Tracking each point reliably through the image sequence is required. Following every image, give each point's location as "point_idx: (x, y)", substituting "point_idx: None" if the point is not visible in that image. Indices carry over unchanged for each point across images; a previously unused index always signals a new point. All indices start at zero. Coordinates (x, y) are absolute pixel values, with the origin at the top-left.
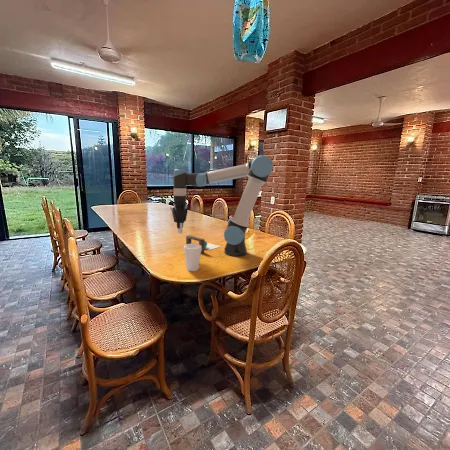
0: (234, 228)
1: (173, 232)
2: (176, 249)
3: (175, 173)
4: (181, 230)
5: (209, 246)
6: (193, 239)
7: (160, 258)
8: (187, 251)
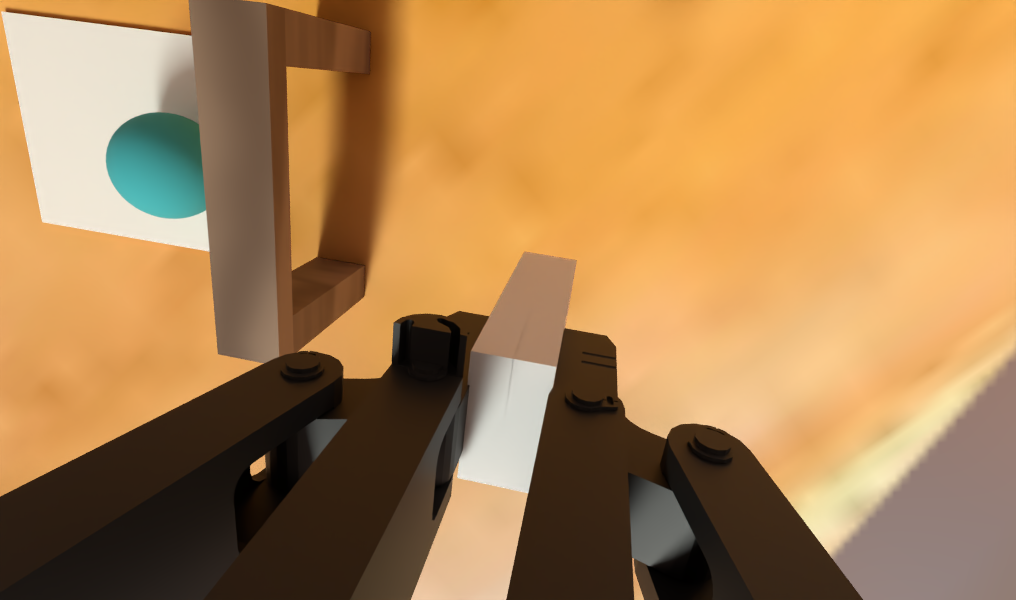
0: None
1: None
2: None
3: None
4: (540, 276)
5: (114, 130)
6: (288, 201)
7: (801, 302)
8: None
